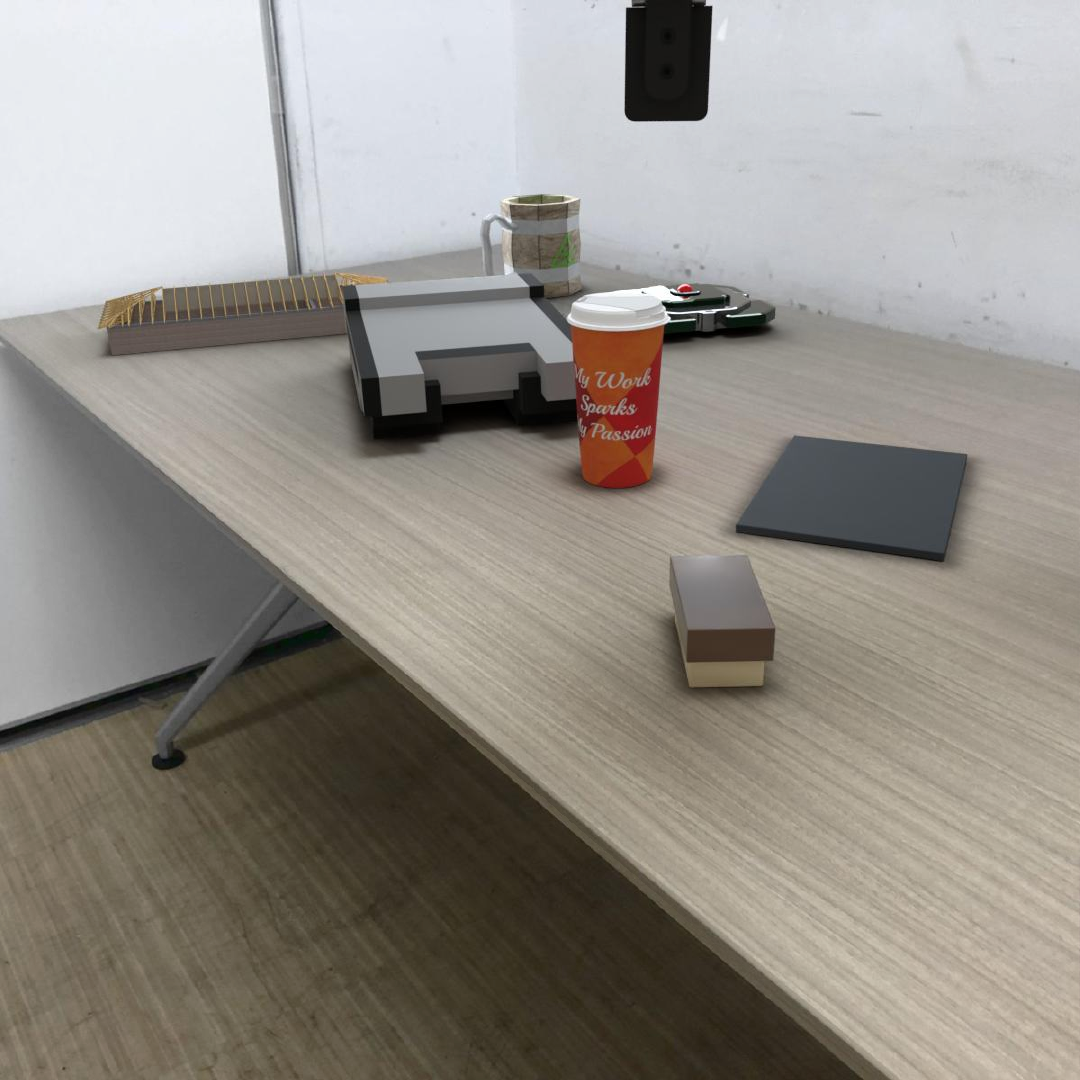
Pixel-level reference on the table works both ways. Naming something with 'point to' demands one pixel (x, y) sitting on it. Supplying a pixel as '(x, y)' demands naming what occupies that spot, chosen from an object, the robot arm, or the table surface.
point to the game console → (458, 351)
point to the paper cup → (617, 384)
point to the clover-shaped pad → (708, 307)
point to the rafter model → (228, 313)
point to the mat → (859, 497)
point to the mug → (538, 240)
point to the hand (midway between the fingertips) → (668, 112)
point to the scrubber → (721, 620)
